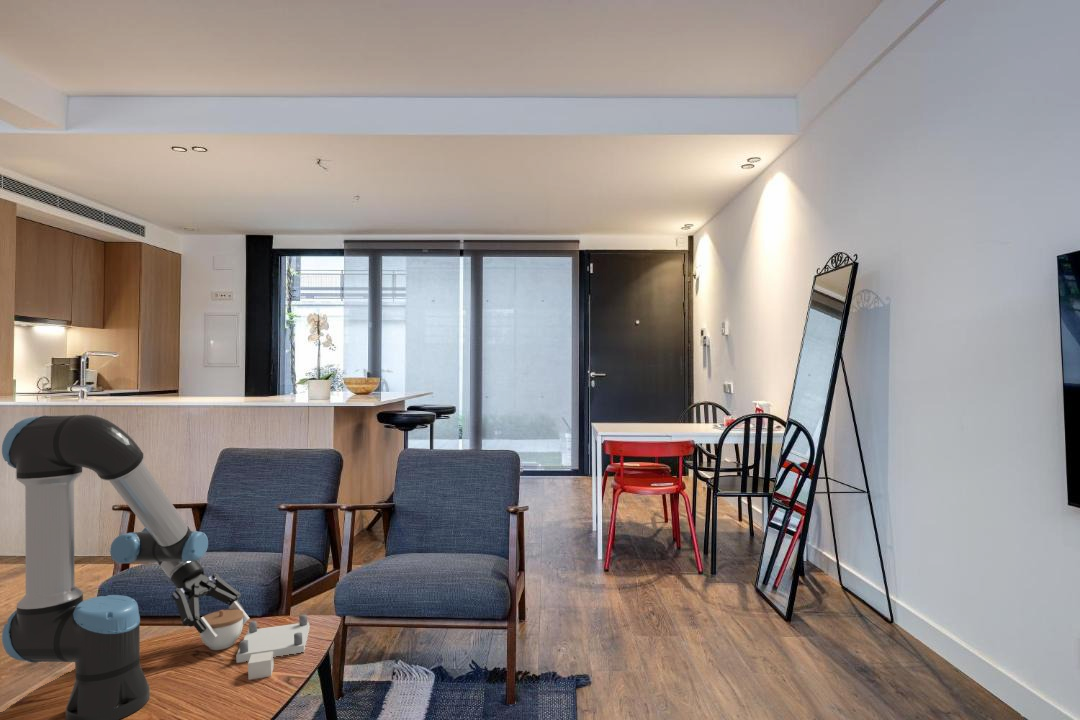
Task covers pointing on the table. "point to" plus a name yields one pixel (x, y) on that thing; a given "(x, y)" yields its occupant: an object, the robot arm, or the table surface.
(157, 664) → the table surface
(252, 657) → the plain off-white block
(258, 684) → the table surface
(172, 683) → the table surface
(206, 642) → the lidded jar
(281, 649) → the grey stand
